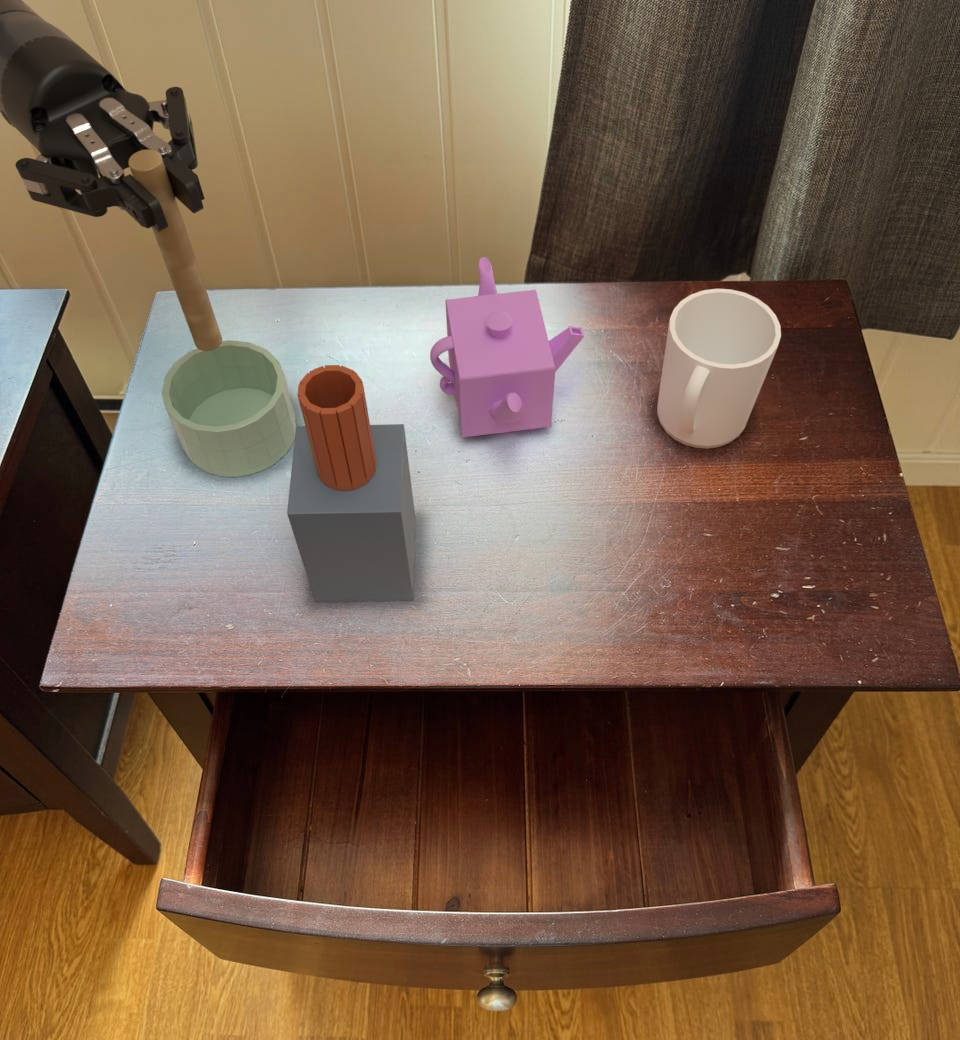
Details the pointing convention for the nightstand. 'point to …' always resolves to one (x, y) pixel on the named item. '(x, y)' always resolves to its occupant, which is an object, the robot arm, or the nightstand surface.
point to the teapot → (500, 359)
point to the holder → (350, 494)
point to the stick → (178, 251)
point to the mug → (715, 365)
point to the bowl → (230, 408)
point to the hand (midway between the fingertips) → (178, 208)
